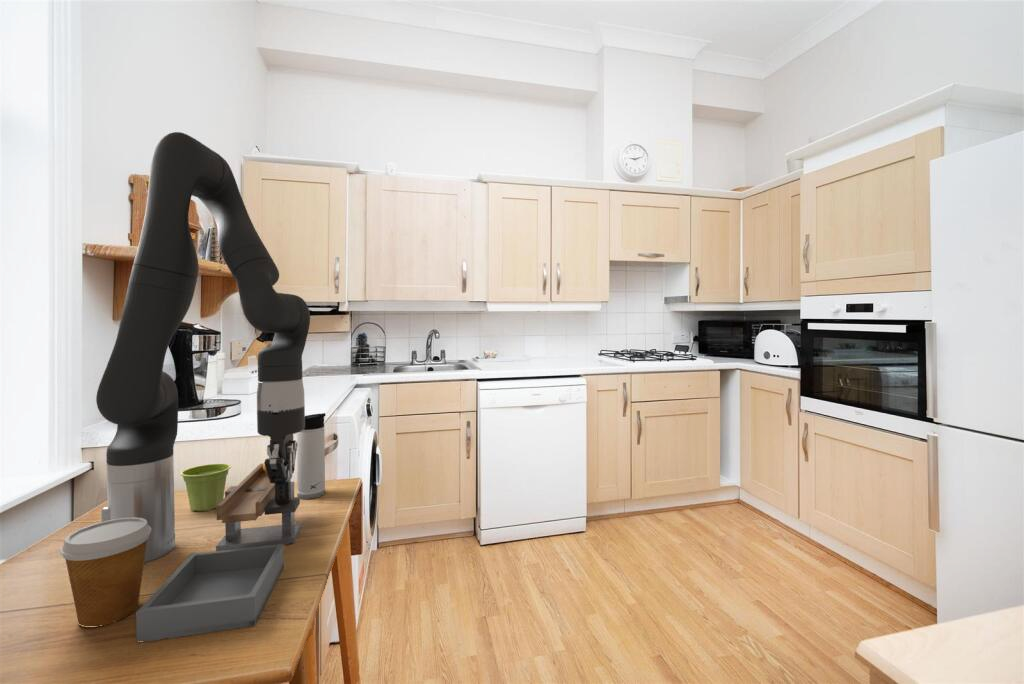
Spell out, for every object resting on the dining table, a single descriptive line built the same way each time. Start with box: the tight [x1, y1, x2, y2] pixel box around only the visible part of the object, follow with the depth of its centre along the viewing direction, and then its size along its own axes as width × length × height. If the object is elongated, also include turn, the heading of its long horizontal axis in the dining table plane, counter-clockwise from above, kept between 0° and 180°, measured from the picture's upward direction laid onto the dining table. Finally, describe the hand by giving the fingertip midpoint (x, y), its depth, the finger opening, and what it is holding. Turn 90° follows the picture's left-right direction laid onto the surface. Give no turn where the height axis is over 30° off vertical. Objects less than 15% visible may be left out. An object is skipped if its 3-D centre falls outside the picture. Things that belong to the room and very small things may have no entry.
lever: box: [215, 462, 301, 524], centre depth 86 cm, size 11×24×5 cm, turn 14°
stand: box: [215, 481, 303, 551], centre depth 86 cm, size 13×7×10 cm, turn 104°
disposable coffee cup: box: [59, 517, 151, 626], centre depth 63 cm, size 10×10×12 cm
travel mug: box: [296, 413, 326, 500], centre depth 109 cm, size 6×7×20 cm
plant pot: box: [180, 463, 232, 512], centre depth 102 cm, size 9×9×9 cm
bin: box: [135, 544, 285, 643], centre depth 66 cm, size 14×16×4 cm
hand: (283, 502), depth 79 cm, fingers closed
